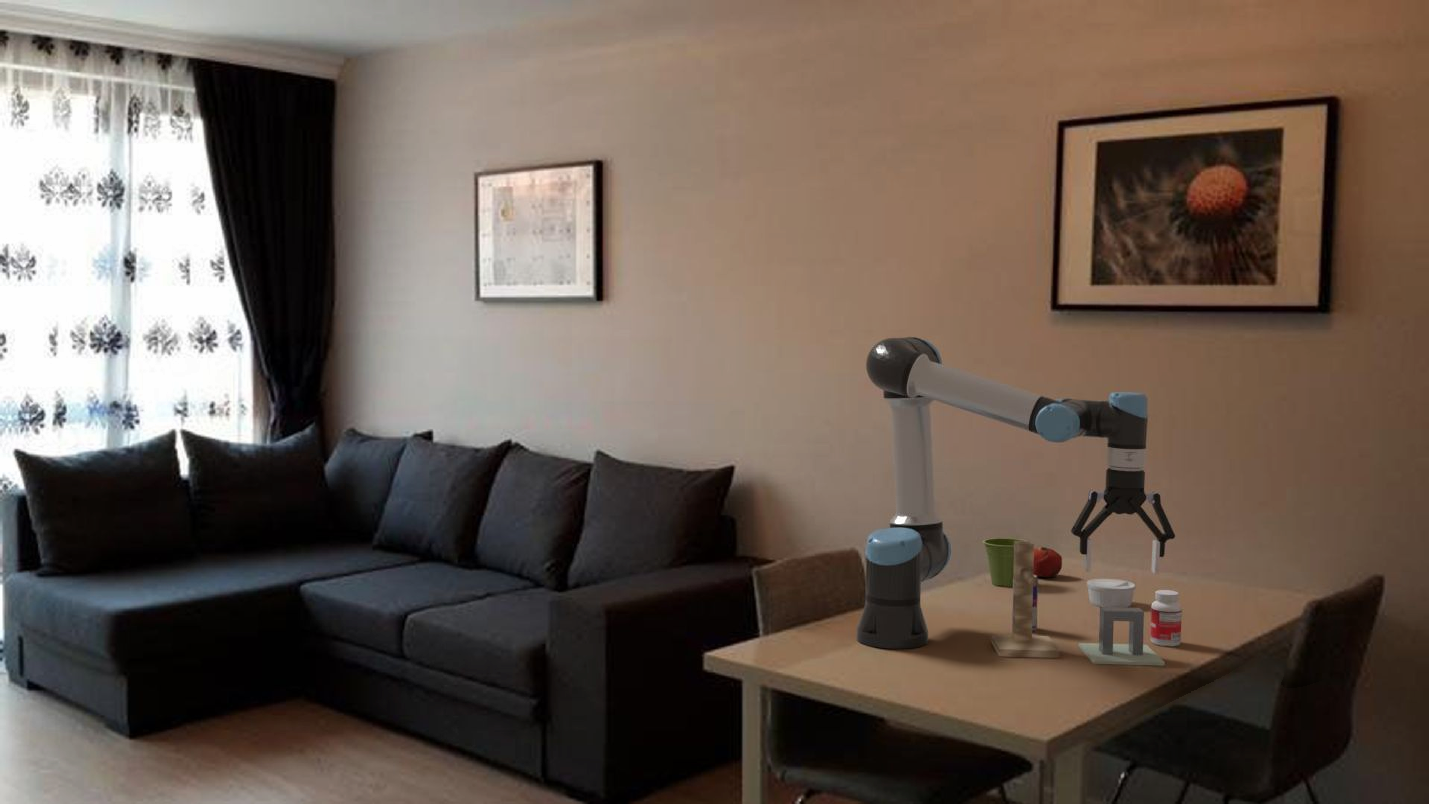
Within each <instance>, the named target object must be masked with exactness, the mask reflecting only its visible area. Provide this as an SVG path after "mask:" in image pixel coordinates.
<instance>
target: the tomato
mask: <svg viewBox="0 0 1429 804" xmlns="http://www.w3.org/2000/svg"><path fill="white" fill-rule="evenodd" d="M1062 568H1063V557H1062V555H1061V554H1059V553H1058V552H1057V551H1056V550H1054V549H1053V548H1048V547H1044V546H1038V547H1037V548H1034V564H1033V575H1036V576H1037V577H1040V576H1041V577H1042V578H1051V577H1056V576H1057V575H1059V573H1060V572H1061V570H1062Z"/></svg>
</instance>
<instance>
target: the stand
mask: <svg viewBox="0 0 1429 804" xmlns="http://www.w3.org/2000/svg"><path fill="white" fill-rule="evenodd" d="M1034 549H1035V544H1034V543H1033V541H1031V540H1029V541H1028V540H1026V541H1014V577H1013V586H1012V608H1013V626H1012V625H1011V628H1012V632H1011V634H991V635H990V642H991V644H992V646H993V648H994V649H995V651H996V653H997V655H998V656H999V657H1003V658H1004V657H1008V658H1012V657H1013V658H1015V657H1016V658H1050V659H1055V658H1056V659H1058V658H1060V650H1059V648H1058V647H1057V646H1056V645H1055V643H1054V642H1053V640H1052V639H1051V638H1050V636H1049V635H1033V631H1032V611H1033V587H1035V586H1036V585H1037V584H1038V585H1039V580H1038V581H1037V579H1038V578H1037V579H1036V578H1035V577H1034V576H1033V575H1034V574H1033V564H1034Z"/></svg>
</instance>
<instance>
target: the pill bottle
mask: <svg viewBox="0 0 1429 804" xmlns="http://www.w3.org/2000/svg"><path fill="white" fill-rule="evenodd" d="M1154 597H1155V600H1154V601H1153V602H1152V604H1151V607H1150V609H1151V610H1150V612H1151V613H1150V618H1151V619H1150V642H1151V643H1152V644H1154V645H1157V646H1161V647H1170V648H1171V647H1177V646H1180V644H1181V643H1182V614H1183V609H1182V608H1183V607H1182V605H1181V604H1180V603H1179V602H1178V601H1179V597H1180V594H1179V592H1178V591H1175V590H1171V589H1159V590H1156V591H1155V596H1154Z"/></svg>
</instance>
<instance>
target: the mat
mask: <svg viewBox="0 0 1429 804" xmlns="http://www.w3.org/2000/svg"><path fill="white" fill-rule="evenodd" d="M1078 647H1079V648H1080V649H1081V651H1082V652H1083V653H1084V655H1086V657H1087V658H1088V659H1089V660H1090V662H1091V663H1092V664H1093V665H1129V666H1131V665H1132V666H1133V665H1134V666H1166V662H1165V661H1164V660H1163V659H1162V658H1161V657H1160V656H1159V655H1158V654H1157V653H1156V652H1155V651H1154V650H1152V649H1151V647H1149V646H1148V644H1143V655H1132V654H1131V653H1130V652H1129V651H1128V650H1129V643H1120V644H1119V643H1113V655H1103V654H1102V653H1101V652H1100V651H1099V643H1090V642H1089V643H1086V642H1085V643H1084V642H1081V643H1080V642H1079V643H1078Z"/></svg>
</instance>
